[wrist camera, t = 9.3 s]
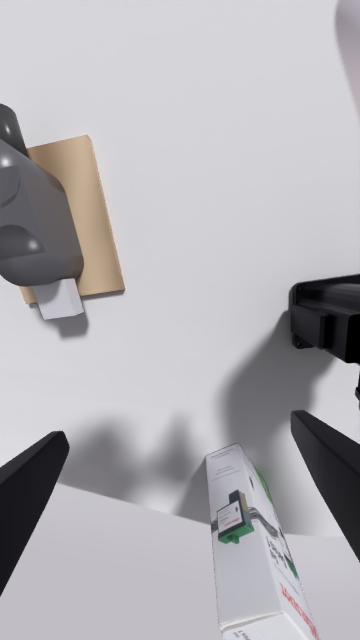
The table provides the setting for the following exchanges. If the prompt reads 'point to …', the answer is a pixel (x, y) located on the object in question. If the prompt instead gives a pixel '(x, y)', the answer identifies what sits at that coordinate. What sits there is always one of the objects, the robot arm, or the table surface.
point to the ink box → (252, 556)
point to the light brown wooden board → (82, 213)
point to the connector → (36, 227)
